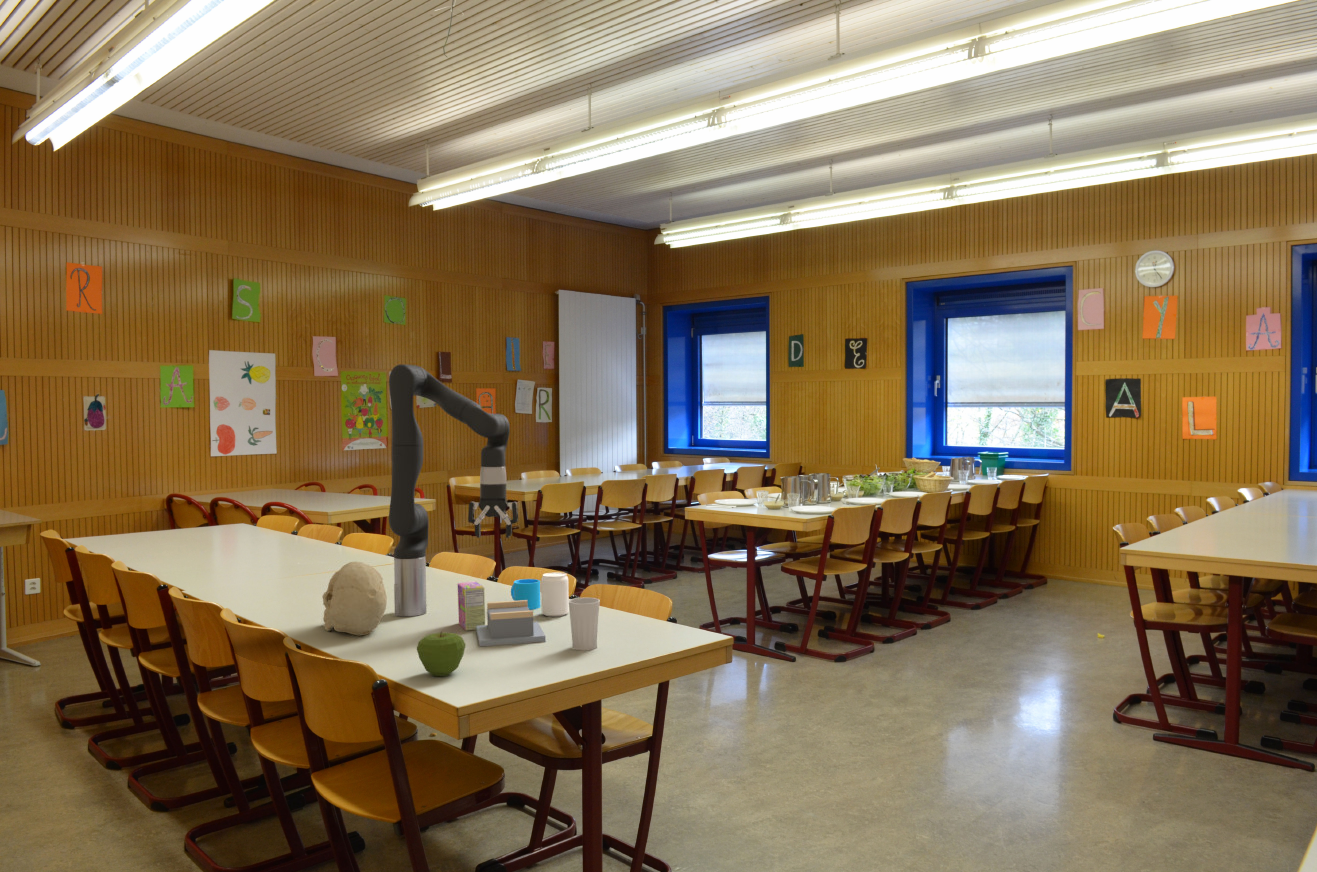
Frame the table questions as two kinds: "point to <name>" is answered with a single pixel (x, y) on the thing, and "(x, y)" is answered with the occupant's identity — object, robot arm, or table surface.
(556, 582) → the beverage can
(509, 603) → the display stand
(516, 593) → the mug
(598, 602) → the cup
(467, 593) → the box
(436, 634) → the apple
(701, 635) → the table surface
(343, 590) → the skull
